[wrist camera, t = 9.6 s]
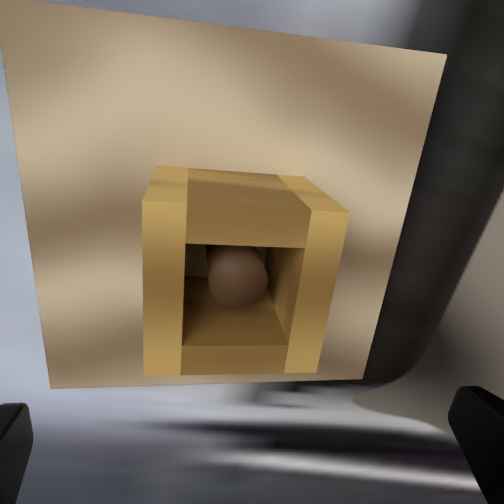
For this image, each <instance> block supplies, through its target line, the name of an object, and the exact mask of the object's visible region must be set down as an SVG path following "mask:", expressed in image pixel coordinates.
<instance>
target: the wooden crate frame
mask: <svg viewBox="0 0 504 504" xmlns="http://www.w3.org/2000/svg"><path fill="white" fill-rule="evenodd" d="M349 216H350V212H349V211H348V210H346V209H345V208H344V207H342V206H341V205H340V204H339V203H337V202H336V201H335V200H334V199H332V198H331V197H330V196H328V195H327V194H326V193H325V192H323V191H322V190H321V189H320V188H318V187H317V186H316V185H314V184H313V183H312V182H311V181H309V180H308V179H307V178H306V177H303V176H290V175H276V174H263V173H250V172H236V171H223V170H210V169H196V168H183V167H170V166H157V167H156V169H155V171H154V174H153V176H152V178H151V181H150V183H149V185H148V188H147V190H146V192H145V194H144V197H143V199H142V261H143V369H144V376H177V375H226V374H275V373H316V372H317V367H318V363H319V358H320V353H321V348H322V344H323V339H324V334H325V330H326V325H327V320H328V315H329V311H330V306H331V301H332V297H333V292H334V287H335V282H336V278H337V273H338V268H339V264H340V259H341V254H342V249H343V245H344V240H345V235H346V231H347V226H348V221H349ZM185 243H188V244H213V245H237V246H262V247H267V253H266V261H265V270H266V272H267V276H268V284H267V288H266V290H265V292H264V294H263V295H262V297H261V298H260V299H259V300H257V301H256V302H255V303H253V304H251V305H249V306H246V307H241V308H232V307H227V306H225V305H222V304H221V303H219V302H218V301H217V300H216V299H215V298H214V297H213V295H212V294H211V291H210V288H209V279H208V277H197V276H184V268H185Z"/></svg>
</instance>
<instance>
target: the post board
mask: <svg viewBox="0 0 504 504" xmlns="http://www.w3.org/2000/svg"><path fill="white" fill-rule="evenodd" d="M0 43H1V50H2V57H3V64H4V71H5V78H6V85H7V91H8V98H9V105H10V112H11V119H12V126H13V133H14V140H15V147H16V154H17V160H18V167H19V174H20V181H21V188H22V195H23V202H24V209H25V216H26V223H27V230H28V236H29V243H30V250H31V257H32V264H33V271H34V278H35V285H36V292H37V299H38V306H39V312H40V319H41V326H42V333H43V340H44V347H45V354H46V361H47V368H48V375H49V381H50V388H51V389H63V388H94V387H125V386H156V385H188V384H219V383H250V382H281V381H312V380H343V379H362V378H363V374H364V371H365V367H366V363H367V359H368V355H369V351H370V348H371V344H372V340H373V336H374V332H375V328H376V325H377V321H378V317H379V313H380V309H381V306H382V302H383V298H384V294H385V290H386V286H387V283H388V279H389V275H390V271H391V267H392V263H393V260H394V256H395V252H396V248H397V244H398V241H399V237H400V233H401V229H402V225H403V221H404V218H405V214H406V210H407V206H408V202H409V198H410V195H411V191H412V187H413V183H414V179H415V176H416V172H417V168H418V164H419V160H420V156H421V153H422V149H423V145H424V141H425V137H426V133H427V130H428V126H429V122H430V118H431V114H432V110H433V107H434V103H435V99H436V95H437V91H438V88H439V84H440V80H441V76H442V72H443V68H444V65H445V61H446V57H447V55H446V54H438V53H431V52H423V51H415V50H408V49H400V48H393V47H385V46H377V45H370V44H362V43H355V42H347V41H339V40H332V39H324V38H316V37H309V36H301V35H294V34H286V33H278V32H271V31H263V30H256V29H248V28H240V27H233V26H225V25H217V24H210V23H202V22H195V21H187V20H179V19H172V18H164V17H157V16H149V15H141V14H134V13H126V12H118V11H111V10H103V9H96V8H88V7H80V6H73V5H65V4H58V3H50V2H42V1H35V0H0ZM157 166H170V167H183V168H196V169H210V170H223V171H236V172H250V173H263V174H276V175H290V176H303V177H306V178H307V179H308V180H309V181H311V182H312V183H313V184H314V185H316V186H317V187H318V188H320V189H321V190H322V191H323V192H325V193H326V194H327V195H328V196H330V197H331V198H332V199H334V200H335V201H336V202H337V203H339V204H340V205H341V206H342V207H344V208H345V209H346V210H348V211H349V212H350V216H349V221H348V226H347V231H346V235H345V240H344V245H343V249H342V254H341V259H340V264H339V268H338V273H337V278H336V282H335V287H334V292H333V297H332V301H331V306H330V311H329V315H328V320H327V325H326V330H325V334H324V339H323V344H322V348H321V353H320V358H319V363H318V367H317V372H316V373H275V374H226V375H177V376H144V369H143V261H142V199H143V197H144V194H145V192H146V190H147V188H148V185H149V183H150V181H151V178H152V176H153V174H154V171H155V169H156V167H157ZM266 253H267V247H262V246H237V245H213V244H188V243H185V268H184V276H197V277H208V279H209V288H210V291H211V294H212V295H213V297H214V298H215V299H216V300H217V301H218V302H219V303H221V304H222V305H225V306H227V307H232V308H241V307H246V306H249V305H251V304H253V303H255V302H256V301H257V300H259V299H260V298H261V297H262V295H263V294H264V292H265V290H266V288H267V284H268V276H267V272H266V270H265V261H266Z"/></svg>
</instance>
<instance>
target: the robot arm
mask: <svg viewBox="0 0 504 504" xmlns="http://www.w3.org/2000/svg"><path fill="white" fill-rule="evenodd" d="M448 421H449V424H450V426H451V429H452V431H453V433H454V435H455V437H456V439H457V441H458V443H459V446H460V448H461V450H462V452H463V454H464V456H465V458H466V460H467V462H468V464H469V467H470V469H471V471H472V473H473V475H474V477H475V479H476V481H477V483H478V485H479V487H480V489H481V491H482V493H483V495H484V497H485V499H486V501H487V502H488V504H504V400H503V399H501V398H499V397H498V396H496V395H494V394H492V393H490V392H489V391H487V390H485V389H483V388H481V387H479V386H462V387H460V388H458V390H457V392H456V394H455V397H454V399H453V401H452V404H451V407H450V409H449V412H448ZM32 445H33V430H32V424H31V419H30V413H29V408H28V406H27V404H25V403H5V404H1V405H0V504H15V503H16V500H17V496H18V493H19V490H20V486H21V483H22V480H23V476H24V473H25V470H26V466H27V463H28V459H29V456H30V453H31V449H32Z"/></svg>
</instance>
